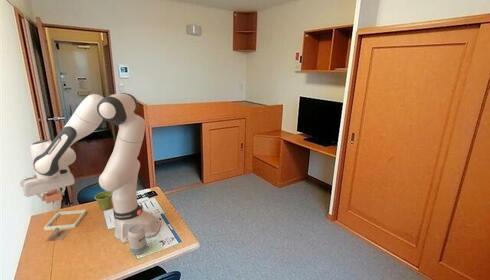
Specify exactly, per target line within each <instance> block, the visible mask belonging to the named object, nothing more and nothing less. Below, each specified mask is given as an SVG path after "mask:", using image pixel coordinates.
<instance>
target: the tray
mask: <svg viewBox="0 0 490 280" xmlns="http://www.w3.org/2000/svg"><path fill="white" fill-rule="evenodd" d="M87 213H88V212H87V209H78V210H77V209H76V210H67V211H58V212H57V213H56V214H55V215H54V216H53V217H52V218H51V219H50V220H49V221H48V222H47V223H46V224H45V225H44V226H43V230H44V231H51V230H53V231H54V230H55V228H59V230H64V229H71V228H72V229H73V228H76V227H77V226H78V224H79V223H80V222H81V221H82V219H83V217H84V216H85V215H86V214H87ZM74 214H80V216H79V217H78V218H77V220H76V221H75V222H74V223H72V224H63V225H52V224H53V223H54V221H56V219H57V218H58V217H59V216H62V215H74ZM51 225H52V226H51Z"/></svg>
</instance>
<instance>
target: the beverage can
mask: <svg viewBox="0 0 490 280" xmlns="http://www.w3.org/2000/svg"><path fill="white" fill-rule="evenodd" d="M128 236H129V242H128V243H129V248H130V250H129V251H130V253H131V254H133V255H140V254H142V253H143V252H145V251H146V249H147V241H146V239H147V238H145V231H144V229H143V228H142V226H141V225H136V226H133V227H131V228H130V230H129V233H128Z"/></svg>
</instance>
